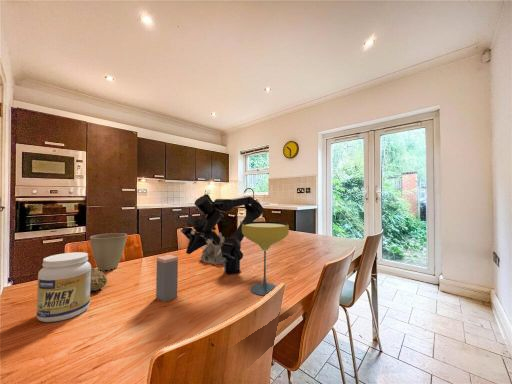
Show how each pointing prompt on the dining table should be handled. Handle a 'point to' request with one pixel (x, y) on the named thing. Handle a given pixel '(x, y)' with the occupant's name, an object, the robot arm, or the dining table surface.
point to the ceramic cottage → (213, 252)
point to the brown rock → (97, 279)
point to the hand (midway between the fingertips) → (187, 253)
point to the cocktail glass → (264, 244)
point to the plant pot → (108, 249)
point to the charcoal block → (166, 277)
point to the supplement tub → (63, 286)
